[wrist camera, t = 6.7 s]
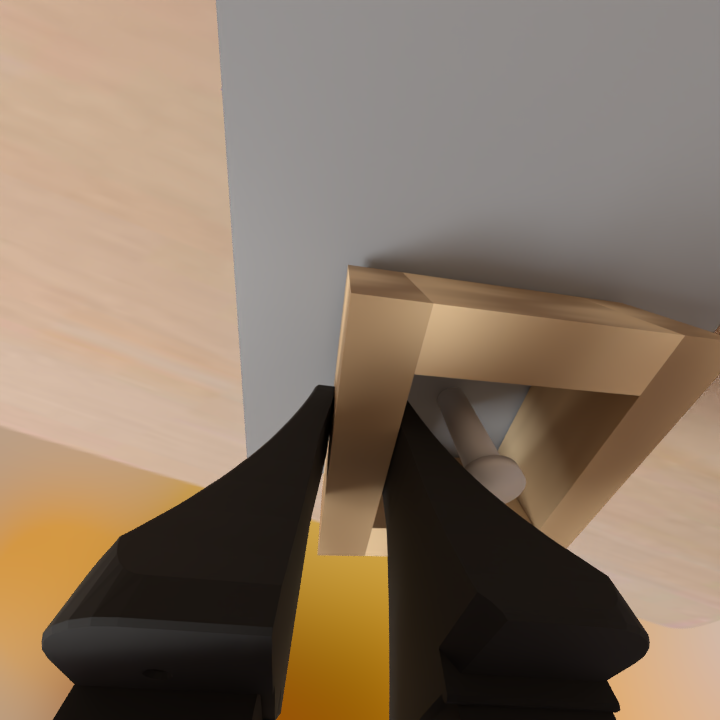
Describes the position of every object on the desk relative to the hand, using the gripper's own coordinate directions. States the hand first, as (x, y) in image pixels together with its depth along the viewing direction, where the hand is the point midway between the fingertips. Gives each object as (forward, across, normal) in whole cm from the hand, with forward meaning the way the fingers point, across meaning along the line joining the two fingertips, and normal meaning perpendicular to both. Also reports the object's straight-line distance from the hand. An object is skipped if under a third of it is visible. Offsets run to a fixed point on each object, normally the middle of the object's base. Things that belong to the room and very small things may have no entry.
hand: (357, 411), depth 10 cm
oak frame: (+1, -4, 0) cm, 4 cm away
